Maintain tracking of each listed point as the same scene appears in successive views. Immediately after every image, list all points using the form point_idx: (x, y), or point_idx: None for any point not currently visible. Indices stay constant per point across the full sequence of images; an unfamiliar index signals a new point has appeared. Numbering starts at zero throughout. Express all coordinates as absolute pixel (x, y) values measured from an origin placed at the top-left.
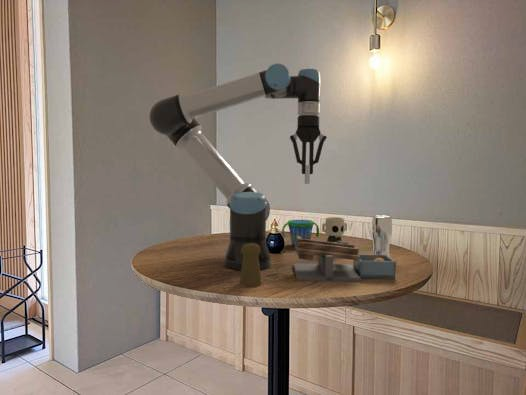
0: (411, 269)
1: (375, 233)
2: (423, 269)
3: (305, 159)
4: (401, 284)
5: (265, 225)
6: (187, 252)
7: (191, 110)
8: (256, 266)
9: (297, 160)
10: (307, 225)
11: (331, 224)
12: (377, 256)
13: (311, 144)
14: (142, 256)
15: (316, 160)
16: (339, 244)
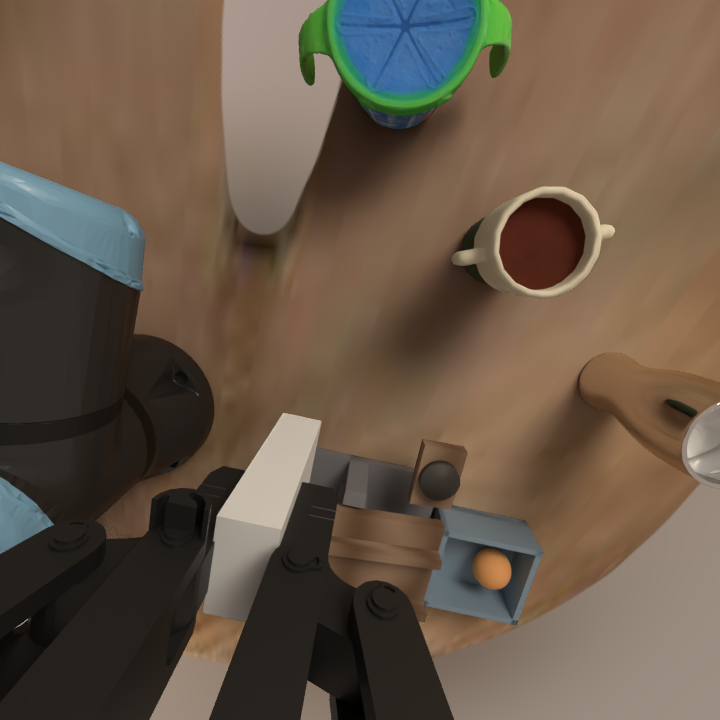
0: (609, 520)
1: (630, 429)
2: (644, 525)
3: (157, 688)
4: (488, 626)
5: (122, 482)
6: None
7: None
8: None
9: (32, 643)
10: (421, 111)
11: (498, 283)
12: (511, 548)
13: None
14: None
15: (351, 715)
16: (392, 561)
